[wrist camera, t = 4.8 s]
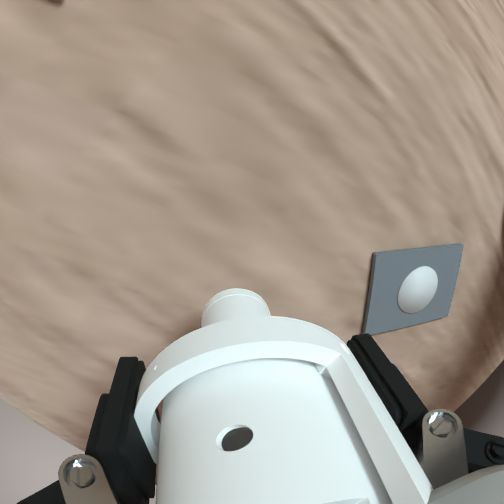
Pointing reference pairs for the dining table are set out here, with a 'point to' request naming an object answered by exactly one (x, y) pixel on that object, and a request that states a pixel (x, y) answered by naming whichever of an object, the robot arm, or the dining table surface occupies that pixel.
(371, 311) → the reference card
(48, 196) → the dining table surface
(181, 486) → the white cylindrical housing
